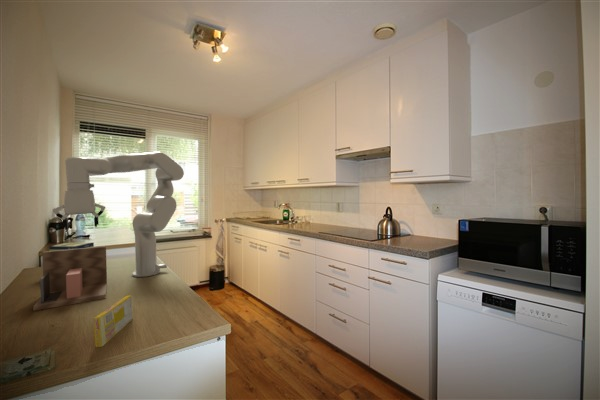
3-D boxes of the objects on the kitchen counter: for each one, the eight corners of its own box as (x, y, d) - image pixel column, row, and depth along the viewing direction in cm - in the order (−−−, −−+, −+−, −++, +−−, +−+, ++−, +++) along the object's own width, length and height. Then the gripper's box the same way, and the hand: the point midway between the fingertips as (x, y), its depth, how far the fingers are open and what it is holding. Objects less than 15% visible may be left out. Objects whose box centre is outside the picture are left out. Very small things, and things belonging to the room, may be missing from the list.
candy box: (126, 320, 91) (125, 295, 90) (133, 319, 91) (132, 294, 91) (93, 347, 74) (93, 317, 74) (102, 347, 75) (101, 316, 74)
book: (82, 289, 116) (81, 267, 116) (80, 296, 108) (79, 273, 108) (70, 291, 114) (69, 269, 114) (66, 298, 106) (66, 275, 105)
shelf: (107, 285, 125) (105, 246, 125) (105, 298, 110) (104, 253, 110) (44, 295, 113) (43, 251, 113) (33, 310, 98) (31, 260, 98)
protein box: (79, 276, 139) (78, 245, 139) (49, 276, 140) (48, 246, 139) (95, 270, 150) (94, 242, 150) (66, 271, 150) (66, 242, 150)
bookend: (61, 292, 113) (61, 270, 113) (56, 300, 104) (56, 276, 104) (47, 294, 110) (46, 271, 110) (41, 303, 101) (40, 278, 101)
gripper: (104, 186, 124) (106, 224, 125) (52, 187, 114) (55, 229, 115) (104, 186, 117) (106, 226, 118) (49, 187, 108) (52, 231, 109)
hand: (81, 227), depth 117 cm, fingers open, 9 cm apart
